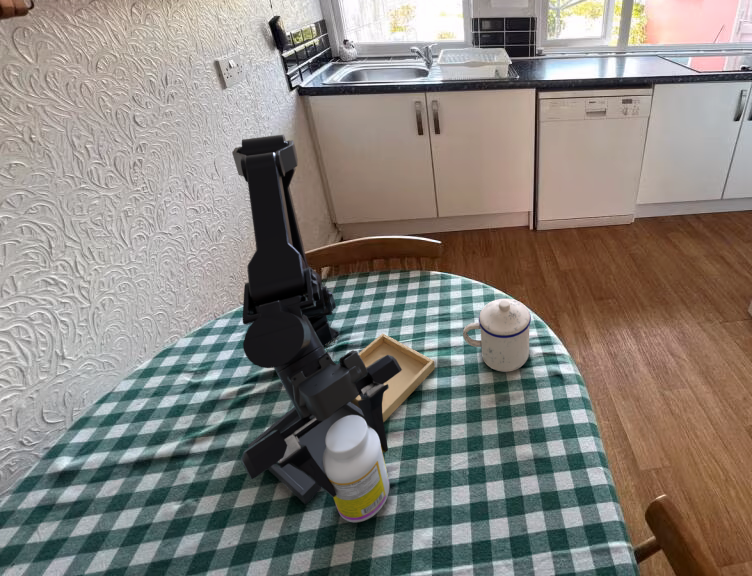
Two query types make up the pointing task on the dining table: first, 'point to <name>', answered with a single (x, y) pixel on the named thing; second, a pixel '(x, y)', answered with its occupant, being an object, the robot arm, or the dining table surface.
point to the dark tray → (315, 445)
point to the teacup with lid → (502, 334)
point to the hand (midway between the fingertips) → (361, 472)
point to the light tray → (406, 379)
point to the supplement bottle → (355, 468)
